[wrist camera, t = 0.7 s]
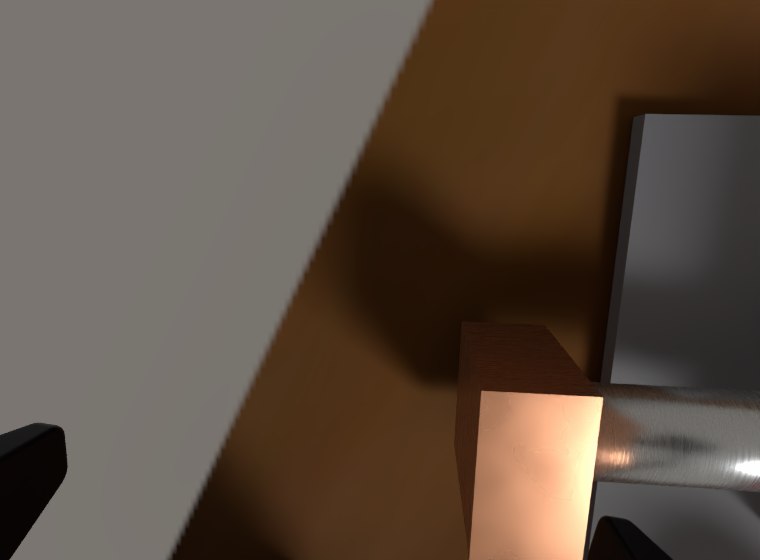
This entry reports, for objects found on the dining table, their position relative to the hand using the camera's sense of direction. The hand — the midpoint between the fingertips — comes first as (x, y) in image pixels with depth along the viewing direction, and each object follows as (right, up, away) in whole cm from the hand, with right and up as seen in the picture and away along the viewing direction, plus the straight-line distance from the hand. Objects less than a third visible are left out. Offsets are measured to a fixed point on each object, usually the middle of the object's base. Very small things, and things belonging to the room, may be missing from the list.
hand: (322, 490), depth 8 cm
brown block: (+11, -1, +10) cm, 15 cm away
